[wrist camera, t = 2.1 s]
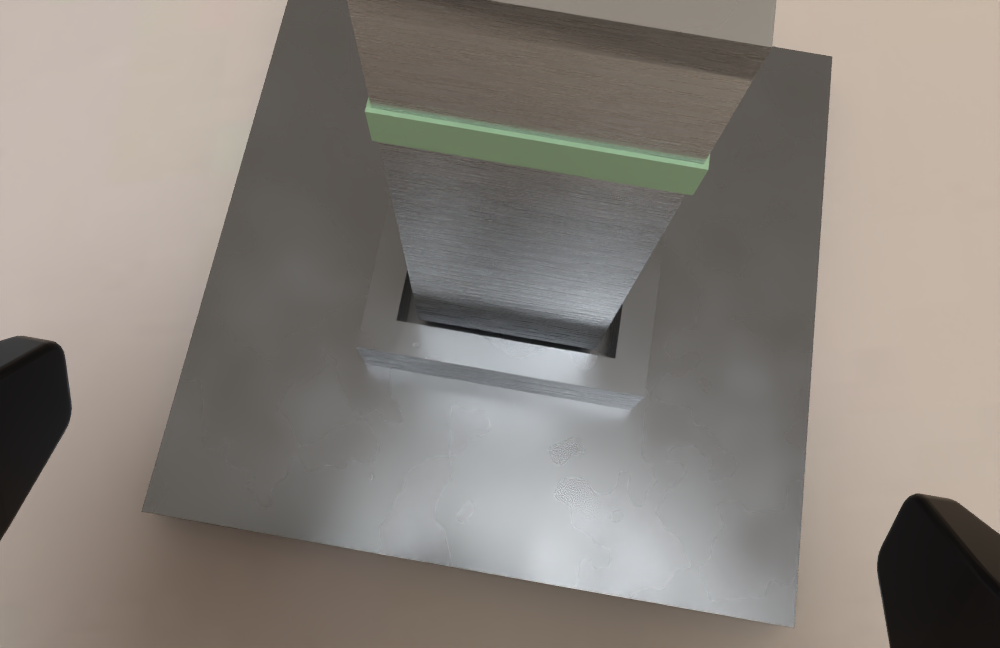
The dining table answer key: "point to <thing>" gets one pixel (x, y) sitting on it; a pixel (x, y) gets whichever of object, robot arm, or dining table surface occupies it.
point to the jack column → (546, 144)
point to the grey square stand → (508, 366)
